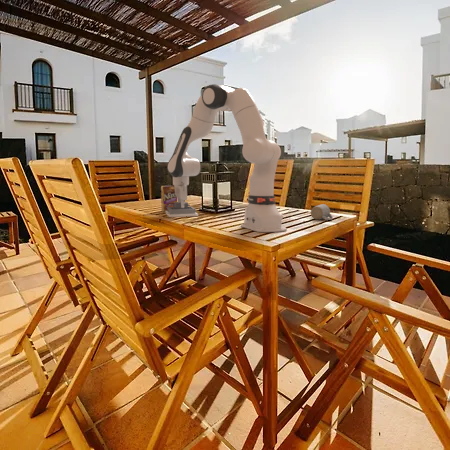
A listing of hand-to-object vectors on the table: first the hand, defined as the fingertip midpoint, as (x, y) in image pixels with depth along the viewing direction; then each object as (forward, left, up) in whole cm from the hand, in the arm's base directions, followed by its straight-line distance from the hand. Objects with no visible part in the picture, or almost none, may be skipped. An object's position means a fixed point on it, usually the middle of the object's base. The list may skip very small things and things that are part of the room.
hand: (181, 206), depth 188 cm
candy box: (+14, +5, -5) cm, 16 cm away
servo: (0, 0, -3) cm, 3 cm away
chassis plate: (0, 0, -4) cm, 4 cm away
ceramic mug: (-33, -69, -5) cm, 77 cm away
